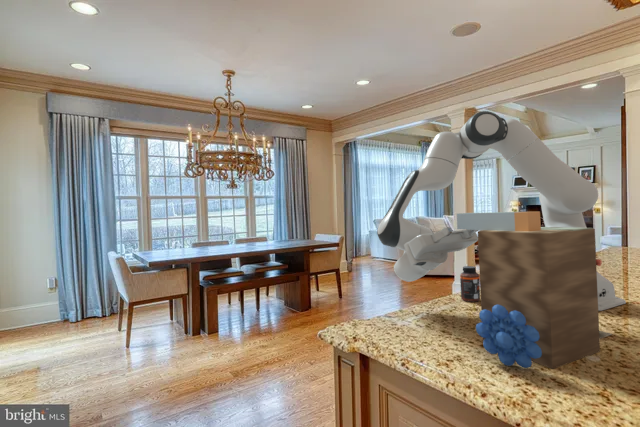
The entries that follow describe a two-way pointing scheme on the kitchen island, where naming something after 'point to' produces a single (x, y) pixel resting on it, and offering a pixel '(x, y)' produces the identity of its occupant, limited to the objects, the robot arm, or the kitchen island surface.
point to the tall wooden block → (545, 286)
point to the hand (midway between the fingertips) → (462, 228)
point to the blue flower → (508, 336)
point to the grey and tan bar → (500, 221)
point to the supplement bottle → (470, 284)
